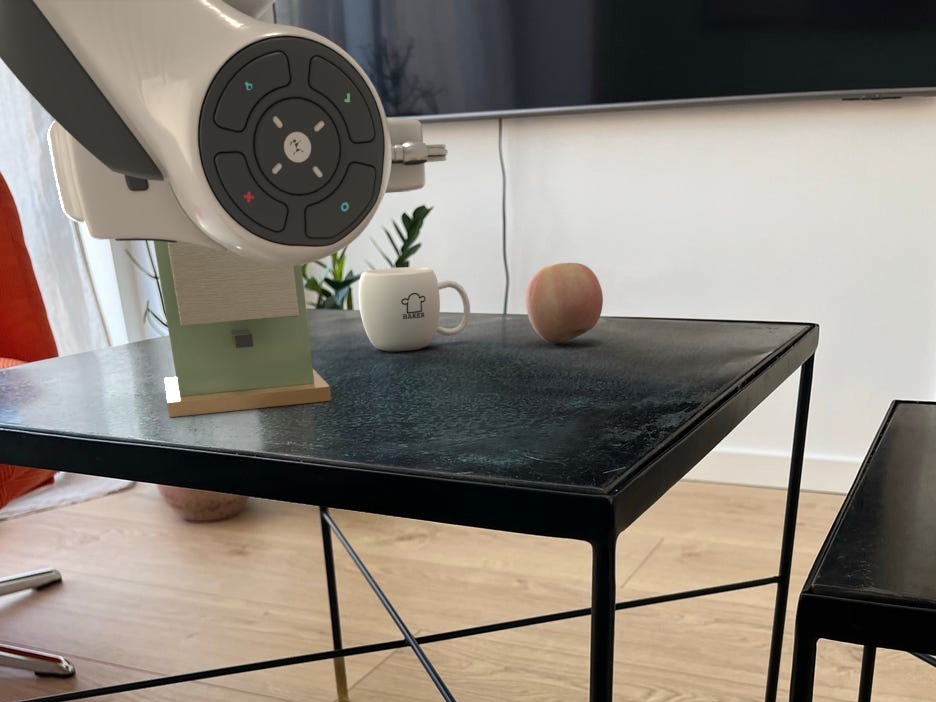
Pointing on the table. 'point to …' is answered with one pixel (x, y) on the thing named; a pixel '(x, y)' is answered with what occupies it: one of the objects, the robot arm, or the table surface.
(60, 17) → the robot arm
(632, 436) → the table surface
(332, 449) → the table surface
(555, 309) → the apple
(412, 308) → the mug
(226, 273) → the push plate
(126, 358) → the table surface
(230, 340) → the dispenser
